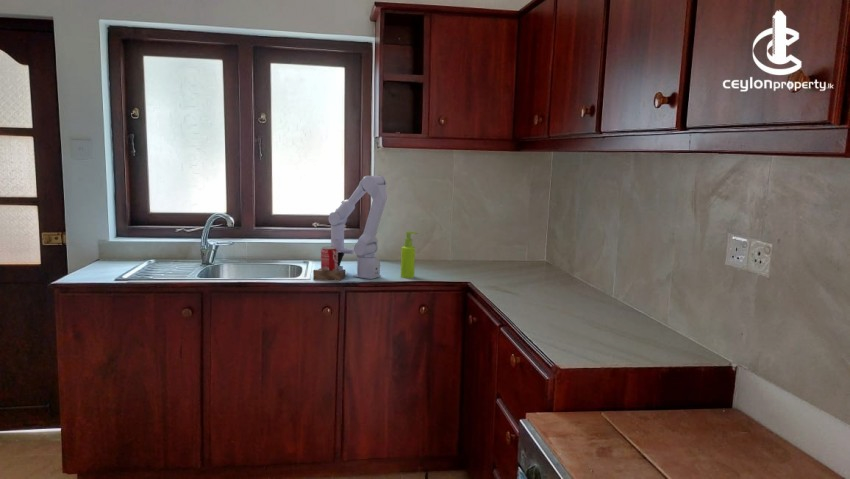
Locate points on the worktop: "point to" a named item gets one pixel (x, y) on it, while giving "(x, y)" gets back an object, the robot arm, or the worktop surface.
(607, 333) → the worktop surface
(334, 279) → the walnut tray
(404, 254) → the soap dispenser
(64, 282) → the worktop surface
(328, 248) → the soda can
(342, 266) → the pusher block
